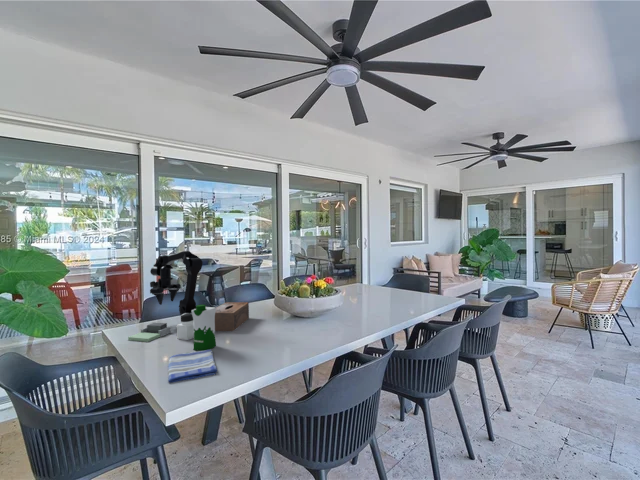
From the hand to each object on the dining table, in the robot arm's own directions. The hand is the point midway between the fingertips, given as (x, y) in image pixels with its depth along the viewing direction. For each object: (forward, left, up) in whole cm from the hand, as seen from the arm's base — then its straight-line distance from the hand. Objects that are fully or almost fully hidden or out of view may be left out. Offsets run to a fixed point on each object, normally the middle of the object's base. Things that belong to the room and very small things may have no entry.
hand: (166, 302), depth 189 cm
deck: (-9, +22, -12) cm, 27 cm away
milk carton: (-48, +31, -12) cm, 58 cm away
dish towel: (-56, +50, -13) cm, 76 cm away
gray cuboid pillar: (-9, +17, -12) cm, 23 cm away
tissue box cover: (-38, -6, -12) cm, 40 cm away
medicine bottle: (-30, +20, -12) cm, 38 cm away
